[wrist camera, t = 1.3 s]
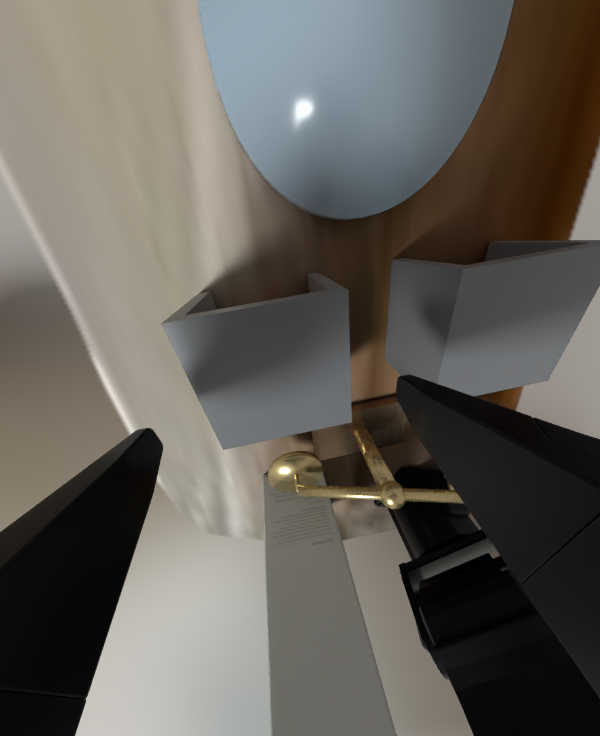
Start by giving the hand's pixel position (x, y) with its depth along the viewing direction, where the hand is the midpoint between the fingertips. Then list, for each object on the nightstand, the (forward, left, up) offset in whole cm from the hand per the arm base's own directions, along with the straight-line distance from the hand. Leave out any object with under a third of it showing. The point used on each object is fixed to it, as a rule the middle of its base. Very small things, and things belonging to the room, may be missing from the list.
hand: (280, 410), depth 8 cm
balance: (-5, -9, -7) cm, 13 cm away
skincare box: (-16, -7, -7) cm, 19 cm away
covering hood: (0, 0, -7) cm, 7 cm away
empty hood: (+5, -9, -7) cm, 13 cm away
